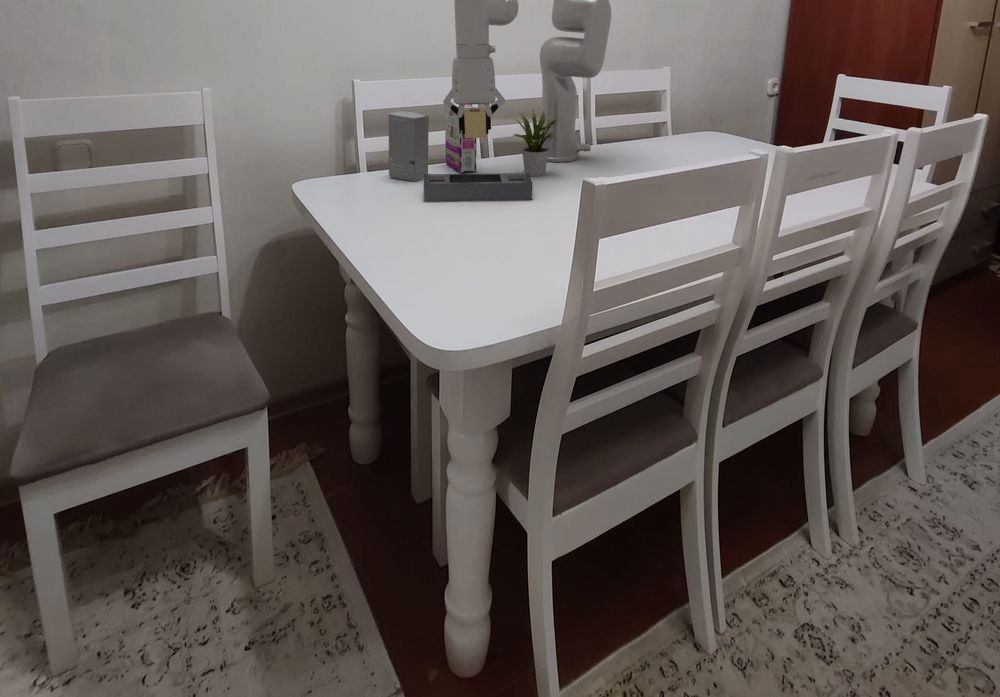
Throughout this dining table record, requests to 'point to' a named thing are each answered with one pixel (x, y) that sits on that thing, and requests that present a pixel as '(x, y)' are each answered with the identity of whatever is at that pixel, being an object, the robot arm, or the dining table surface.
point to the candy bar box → (458, 144)
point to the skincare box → (408, 145)
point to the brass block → (475, 122)
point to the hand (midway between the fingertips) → (475, 132)
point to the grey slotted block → (477, 187)
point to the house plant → (536, 144)
